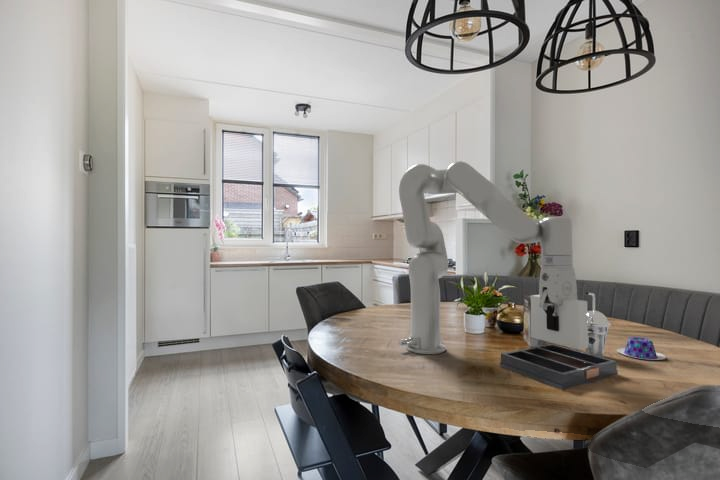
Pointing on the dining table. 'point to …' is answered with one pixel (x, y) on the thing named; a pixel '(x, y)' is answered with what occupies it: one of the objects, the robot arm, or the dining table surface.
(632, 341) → the pudding
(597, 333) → the cup with straw
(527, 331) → the coffee box
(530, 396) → the dining table surface
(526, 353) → the tray
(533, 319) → the panel
